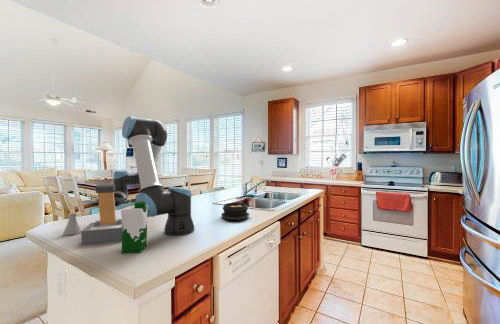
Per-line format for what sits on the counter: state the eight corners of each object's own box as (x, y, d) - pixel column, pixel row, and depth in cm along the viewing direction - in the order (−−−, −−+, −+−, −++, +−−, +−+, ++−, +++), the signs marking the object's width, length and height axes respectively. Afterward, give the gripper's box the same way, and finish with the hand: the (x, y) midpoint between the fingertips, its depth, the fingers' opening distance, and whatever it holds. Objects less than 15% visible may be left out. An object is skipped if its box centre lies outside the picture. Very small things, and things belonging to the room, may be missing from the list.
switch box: (91, 234, 113) (91, 218, 113) (131, 231, 119) (131, 215, 119) (81, 244, 100) (81, 226, 100) (127, 239, 106) (127, 222, 106)
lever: (100, 222, 109) (97, 184, 103) (117, 221, 112) (114, 184, 105) (99, 225, 107) (95, 187, 101) (116, 224, 109) (113, 186, 103)
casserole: (250, 222, 138) (250, 208, 138) (220, 222, 137) (220, 208, 137) (248, 212, 163) (248, 201, 163) (222, 213, 162) (222, 201, 162)
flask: (71, 236, 110) (71, 216, 110) (59, 235, 112) (59, 215, 112) (84, 231, 117) (84, 212, 117) (73, 231, 119) (73, 212, 119)
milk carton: (141, 254, 90) (141, 204, 90) (117, 254, 90) (118, 204, 90) (149, 245, 99) (149, 200, 99) (127, 246, 98) (128, 200, 98)
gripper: (129, 204, 132) (121, 213, 110) (103, 206, 128) (90, 215, 106) (129, 191, 132) (121, 198, 110) (103, 192, 128) (90, 199, 106)
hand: (106, 206), depth 108 cm, fingers closed
